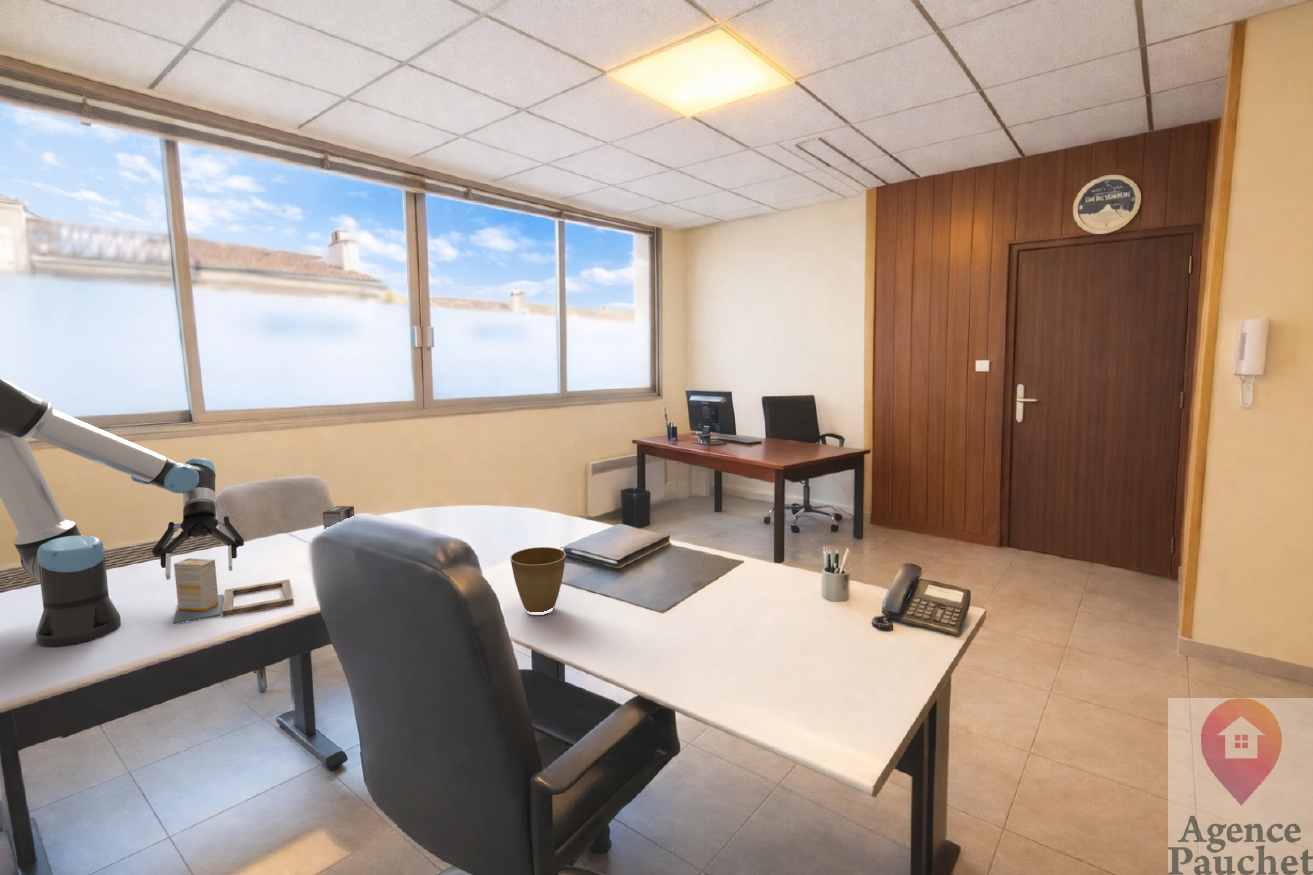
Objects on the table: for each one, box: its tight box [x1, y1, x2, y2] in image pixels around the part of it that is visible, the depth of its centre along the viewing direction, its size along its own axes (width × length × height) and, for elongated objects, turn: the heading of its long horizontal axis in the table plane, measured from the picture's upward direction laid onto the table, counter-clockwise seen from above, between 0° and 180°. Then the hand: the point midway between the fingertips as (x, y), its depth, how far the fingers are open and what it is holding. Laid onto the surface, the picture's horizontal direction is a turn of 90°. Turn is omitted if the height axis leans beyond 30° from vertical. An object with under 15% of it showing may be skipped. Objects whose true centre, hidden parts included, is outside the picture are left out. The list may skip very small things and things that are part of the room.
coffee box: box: [322, 505, 355, 530], centre depth 212 cm, size 9×6×16 cm
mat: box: [172, 593, 224, 625], centre depth 163 cm, size 10×16×1 cm, turn 34°
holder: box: [222, 578, 294, 617], centre depth 171 cm, size 16×18×2 cm
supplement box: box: [173, 558, 219, 611], centre depth 163 cm, size 8×5×13 cm, turn 84°
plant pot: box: [509, 546, 567, 612], centre depth 165 cm, size 15×15×16 cm
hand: (199, 572), depth 163 cm, fingers open, 13 cm apart
